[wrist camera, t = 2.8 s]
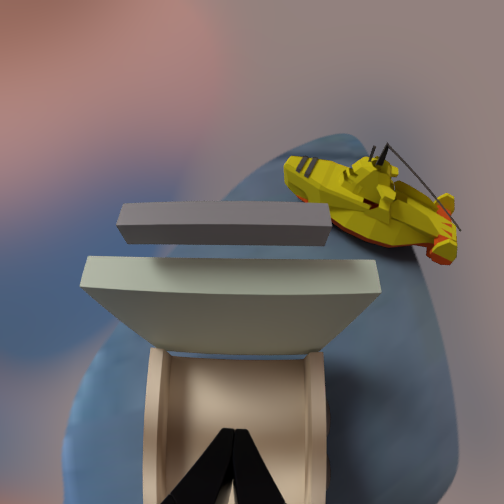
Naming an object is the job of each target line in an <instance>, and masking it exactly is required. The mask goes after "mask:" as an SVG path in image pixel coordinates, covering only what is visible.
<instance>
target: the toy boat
mask: <svg viewBox="0 0 504 504" xmlns="http://www.w3.org/2000/svg"><path fill="white" fill-rule="evenodd" d="M375 148H376V146H373V148H372V151H371V154H370V157H363V158H362V159H360V160H359V161H357V162H356V163H354V164H353V165H351V166H352V167H353V169H352V168H349V167H345V166H343V165H340V164H337V163H335V162H333V161H329V160H322V159H318V158H316V157H313V158H308V156H303V157H299V156H291V157H290V158H288V160H287V161H286V163H285V164H284V180H285V184H286V185H287V187H288V188H289V189H290V190H291V191H292V192H293V193H294V194H295V195H296V196H297V197H298V198H299V199H300V200H302V201H303V202H304V203H328V206H329V212H330V217H331V222H332V223H333V224H335V225H336V226H338V227H339V228H340V229H342V230H343V231H345V232H347V233H349V234H351V235H353V236H355V237H357V238H359V239H361V240H364V241H366V242H369V243H373V244H377V245H380V246H384V247H387V248H391V247H401V246H411V245H417V246H422V247H427V251H426V256H427V257H429V258H431V259H432V261H434V262H436V263H438V264H440V265H450V264H451V263H452V262H453V261H454V260H455V258H456V257H457V236H456V227H457V228H458V229H459V231H461V229H460V228H459V226H458V225H457V224H456V222H455V221H454V219H453V218H452V217H451V214H452V213H453V212H454V196H452V195H450V194H448V193H445V194H443V195H442V196H439V197H438V198H436V196H435V195H434V194H433V193H432V192H431V190H430V189H429V188H428V187H427V186H426V184H425V183H424V182H423V181H422V180H421V179H420V177H419V176H418V175H417V174H416V173H415V172H414V171H413V170H412V168H411V167H410V166H409V165H408V164H407V163H406V162H405V161H404V160H403V159H402V158H401V157H400V156H399V155H398V154H397V153H396V152H395V151H394V150H393V149H392V148H391V147H390V146H389V144H388V143H387V144H386V145H385V147H384V149H383V151H382V153H381V155H380V157H378V156H376V157H375V158H372V157H373V154H374V151H375ZM388 148H389V149H390V150H392V152H394V154H395V155H396V156H398V158H399V159H400V160H401V161H402V162H403V163H404V164H405V165H406V166H407V167H408V168H409V169H410V170H411V171H412V173H413V174H414V175H415V176H416V177H417V178H418V179H419V180H420V181H421V183H422V184H423V185H424V186H425V187H426V189H427V190H428V191H429V192H430V193H431V195H432V196H433V197H434V198H435V199H436V200H435V201H434V203H433V202H432V201H431V199H430V198H429V197H427V196H426V195H424V194H423V193H421V192H419V191H418V190H416V189H415V188H413V187H411V186H410V185H408V184H406V183H403V182H401V181H396V182H394V183H393V181H392V180H391V177H397V176H398V168H396V167H394V166H392V165H390V163H389V162H388V161H386V160H385V157H386V154H387V151H388ZM394 185H395V191H394ZM451 220H452V221H453V223H454V224H455V225H454V224H453V223H452V222H451Z"/></svg>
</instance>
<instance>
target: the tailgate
mask: <svg viewBox="0 0 504 504" xmlns="http://www.w3.org/2000/svg"><path fill="white" fill-rule="evenodd" d="M116 226H117V228H118V229H119V231H120V233H121V234H122V236H123V238H124V239H125V241H126V242H127V244H188V245H280V246H325V243H326V241H327V238H328V236H329V233H330V231H331V228H332V222H331V217H330V212H329V206H328V203H304V202H268V201H189V202H188V201H187V202H153V203H127V204H123V206H122V209H121V212H120V215H119V218H118V221H117V224H116ZM80 287H81V288H82V289H83V290H84V291H86V293H88V294H89V295H90V296H91V297H92V298H93V299H95V300H96V301H97V302H98V303H99V304H101V305H102V306H103V307H104V308H105V309H107V310H108V311H109V312H110V313H111V314H113V315H114V316H115V317H116V318H118V319H119V320H120V321H121V322H123V323H124V324H125V325H127V326H128V327H129V328H130V329H132V330H133V331H134V332H136V333H137V334H138V335H140V336H141V337H142V338H144V339H145V340H147V341H148V342H149V343H151V344H152V345H154V346H155V347H156V348H160V349H164V350H165V351H176V352H189V353H205V354H228V355H299V354H309V353H311V352H319V351H320V350H321V349H322V348H323V347H325V346H326V345H327V344H328V343H329V342H330V341H331V340H333V339H334V338H335V337H336V336H337V335H338V334H339V333H340V332H341V331H343V330H344V329H345V328H346V327H347V326H348V325H349V324H350V323H351V322H352V321H353V320H354V319H355V318H356V317H357V316H359V315H360V314H361V313H362V312H363V311H364V310H365V309H366V308H367V307H368V306H369V305H370V304H371V303H372V302H373V301H374V300H375V299H376V298H377V297H378V296H379V295H380V294H381V287H380V282H379V277H378V272H377V267H376V262H375V260H312V259H222V258H156V257H106V256H88V258H87V262H86V265H85V269H84V272H83V275H82V279H81V283H80Z"/></svg>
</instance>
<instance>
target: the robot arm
mask: <svg viewBox="0 0 504 504" xmlns="http://www.w3.org/2000/svg"><path fill="white" fill-rule="evenodd" d="M232 483H233V492H234V502H235V504H287V503H285V500H284V498H283V496H282V494H281V493H280V491H279V489H278V487H277V485H276V484H275V482H274V480H273V478H272V476H271V474H270V472H269V470H268V469H267V467H266V465H265V463H264V461H263V459H262V457H261V455H260V453H259V451H258V449H257V447H256V445H255V443H254V441H253V439H252V437H251V435H250V433H249V431H248V430H247V429H238V428H237V429H233V428H222V429H221V430H220V431H219V433H218V434H217V435H216V437H215V438H214V439H213V441H212V442H211V443H210V444H209V446H208V447H207V448H206V450H205V451H204V452H203V453H202V455H201V456H200V457H199V459H198V460H197V461H196V462H195V464H194V465H193V466H192V467H191V468H190V470H189V471H188V472H187V473H186V475H185V476H184V477H183V478H182V479H181V481H180V482H179V483H178V484H177V485H176V486H175V488H174V489H173V490H172V491H171V492H170V494H168V496H167V497H166V498H165V499H164V500H163V501H162V502H161V503H160V504H228V502H229V498H230V493H231V489H232Z"/></svg>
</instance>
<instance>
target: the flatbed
mask: <svg viewBox="0 0 504 504" xmlns="http://www.w3.org/2000/svg"><path fill="white" fill-rule="evenodd" d="M222 428H233V429H237V428H238V429H247V430H248V431H249V433H250V435H251V437H252V439H253V441H254V443H255V445H256V447H257V449H258V451H259V453H260V455H261V457H262V459H263V461H264V463H265V465H266V467H267V469H268V470H269V472H270V474H271V476H272V478H273V480H274V482H275V484H276V485H277V487H278V489H279V491H280V493H281V494H282V496H283V498H284V500H285V503H287V504H325V499H326V490H327V489H328V487H329V484H330V477H331V470H330V462H329V458H328V455H327V453H326V438H327V436H328V434H329V430H330V408H329V404H328V401H327V399H326V397H325V376H324V359H323V352H311V353H309V354H308V355H307V356H306V357H305V358H304V359H300V360H226V359H205V358H189V357H177V356H171V355H170V354H169V353H168V352H167V351H165V350H164V349H160V348H151V350H150V358H149V368H148V378H147V389H146V402H145V417H144V438H143V504H160V503H161V502H162V501H163V500H164V499H165V498H166V497H167V496H168V494H170V492H171V491H172V490H173V489H174V488H175V486H176V485H177V484H178V483H179V482H180V481H181V479H182V478H183V477H184V476H185V475H186V473H187V472H188V471H189V470H190V468H191V467H192V466H193V465H194V464H195V462H196V461H197V460H198V459H199V457H200V456H201V455H202V453H203V452H204V451H205V450H206V448H207V447H208V446H209V444H210V443H211V442H212V441H213V439H214V438H215V437H216V435H217V434H218V433H219V431H220V430H221V429H222ZM228 504H235V502H234V492H233V483H232V489H231V493H230V498H229V502H228Z"/></svg>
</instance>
